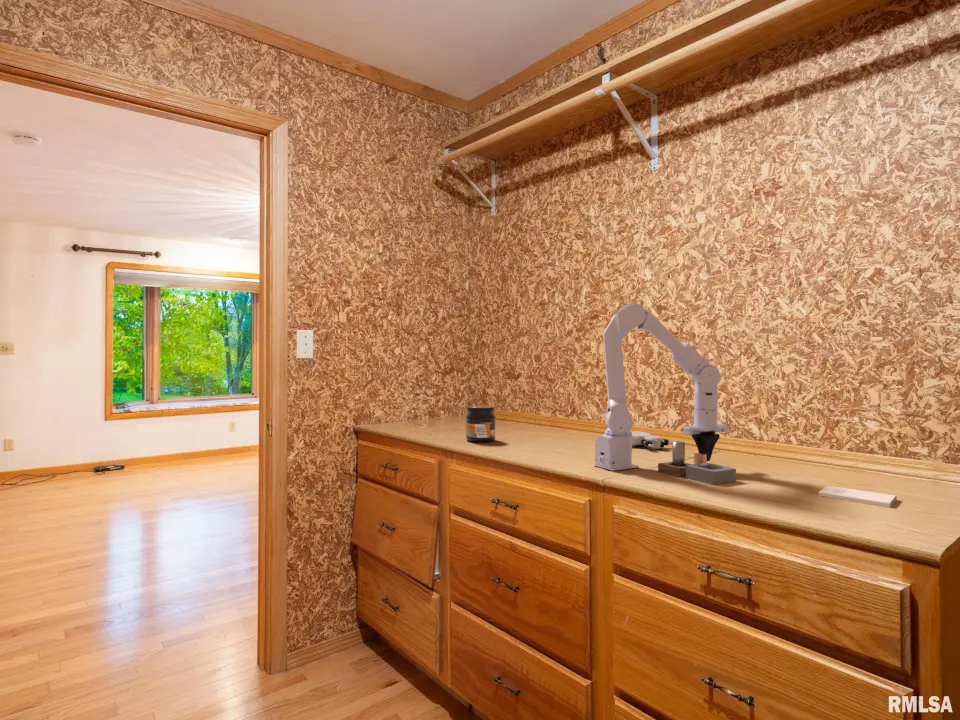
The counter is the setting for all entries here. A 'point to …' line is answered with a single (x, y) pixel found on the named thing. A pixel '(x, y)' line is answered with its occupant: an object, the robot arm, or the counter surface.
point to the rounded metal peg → (678, 453)
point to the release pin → (700, 458)
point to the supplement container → (480, 424)
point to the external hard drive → (859, 496)
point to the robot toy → (648, 440)
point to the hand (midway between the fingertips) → (705, 460)
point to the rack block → (711, 473)
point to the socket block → (672, 469)
